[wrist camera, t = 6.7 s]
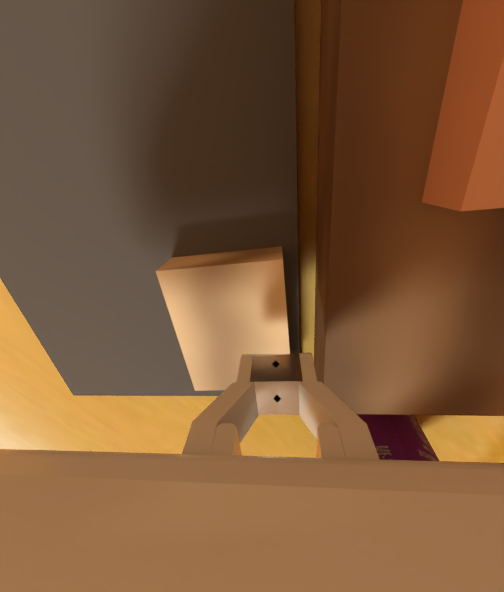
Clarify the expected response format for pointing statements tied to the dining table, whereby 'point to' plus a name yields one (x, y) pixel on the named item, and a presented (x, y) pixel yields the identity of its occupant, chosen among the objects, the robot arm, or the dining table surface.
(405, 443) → the beverage can
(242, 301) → the tan rectangular block
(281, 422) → the dining table surface
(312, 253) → the dining table surface
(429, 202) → the tilted orange prism
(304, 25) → the dining table surface
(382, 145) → the walnut board
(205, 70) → the mat
